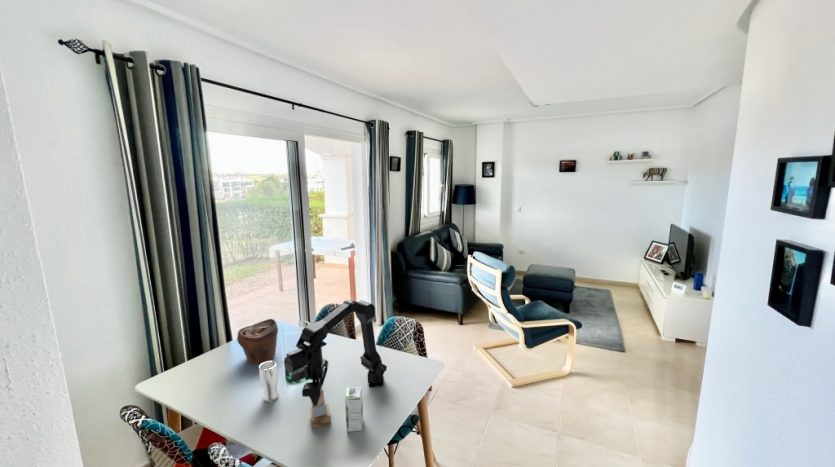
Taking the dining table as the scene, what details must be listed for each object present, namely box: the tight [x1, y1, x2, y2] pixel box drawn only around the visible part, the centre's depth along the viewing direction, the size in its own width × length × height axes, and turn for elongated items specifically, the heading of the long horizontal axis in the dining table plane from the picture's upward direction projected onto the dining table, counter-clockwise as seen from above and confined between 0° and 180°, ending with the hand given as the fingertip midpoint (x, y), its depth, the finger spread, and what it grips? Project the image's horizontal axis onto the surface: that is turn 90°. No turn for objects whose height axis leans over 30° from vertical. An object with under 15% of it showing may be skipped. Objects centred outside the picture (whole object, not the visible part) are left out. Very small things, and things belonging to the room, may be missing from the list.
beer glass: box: [258, 360, 280, 403], centre depth 147 cm, size 7×7×15 cm
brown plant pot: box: [236, 318, 279, 365], centre depth 176 cm, size 18×20×18 cm
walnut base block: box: [309, 403, 332, 430], centre depth 134 cm, size 7×7×4 cm
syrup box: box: [344, 386, 364, 433], centre depth 130 cm, size 6×6×14 cm
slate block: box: [311, 396, 327, 418], centre depth 134 cm, size 5×5×4 cm
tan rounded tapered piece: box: [310, 389, 325, 407], centre depth 133 cm, size 5×5×4 cm
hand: (317, 396), depth 132 cm, fingers open, 9 cm apart
